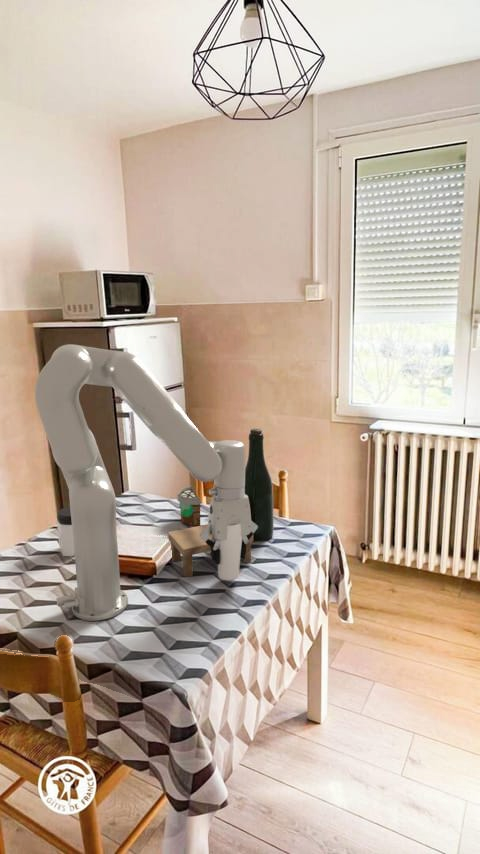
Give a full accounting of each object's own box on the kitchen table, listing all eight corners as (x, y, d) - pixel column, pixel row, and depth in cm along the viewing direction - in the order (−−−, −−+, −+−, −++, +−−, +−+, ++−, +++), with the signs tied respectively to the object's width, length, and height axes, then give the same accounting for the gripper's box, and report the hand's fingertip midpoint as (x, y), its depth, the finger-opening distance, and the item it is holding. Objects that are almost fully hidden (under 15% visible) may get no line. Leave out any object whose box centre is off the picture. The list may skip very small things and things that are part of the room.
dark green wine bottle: (232, 534, 161) (230, 429, 154) (257, 525, 168) (256, 424, 160) (255, 545, 153) (255, 435, 146) (280, 535, 160) (281, 429, 153)
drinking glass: (238, 584, 128) (239, 526, 125) (212, 581, 130) (212, 524, 126) (244, 571, 135) (245, 516, 132) (218, 568, 136) (219, 514, 133)
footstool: (184, 578, 135) (183, 549, 133) (169, 559, 145) (167, 532, 143) (253, 561, 143) (253, 534, 142) (234, 544, 154) (233, 518, 152)
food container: (174, 516, 175) (173, 487, 173) (192, 514, 177) (192, 486, 175) (182, 530, 164) (181, 500, 162) (201, 528, 165) (200, 498, 163)
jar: (57, 547, 153) (53, 508, 150) (85, 541, 157) (82, 503, 154) (64, 559, 145) (61, 519, 143) (93, 552, 149) (90, 513, 147)
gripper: (202, 501, 120) (202, 573, 124) (268, 491, 128) (266, 559, 132) (190, 491, 127) (190, 560, 131) (253, 482, 135) (252, 547, 138)
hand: (228, 559), depth 131 cm, fingers closed on drinking glass, 6 cm apart
